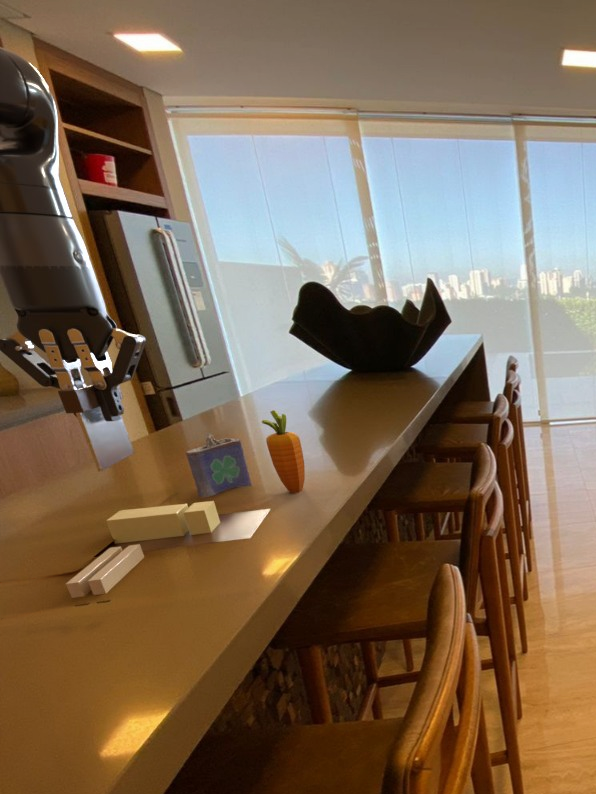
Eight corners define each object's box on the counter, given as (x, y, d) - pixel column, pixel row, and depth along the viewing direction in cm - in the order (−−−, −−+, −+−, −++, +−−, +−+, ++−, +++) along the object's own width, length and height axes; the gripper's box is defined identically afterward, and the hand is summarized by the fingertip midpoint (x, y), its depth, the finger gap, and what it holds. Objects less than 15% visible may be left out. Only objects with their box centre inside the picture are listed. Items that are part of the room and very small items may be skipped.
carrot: (309, 501, 96) (288, 413, 90) (276, 504, 94) (253, 415, 89) (316, 491, 100) (296, 407, 95) (285, 494, 99) (263, 409, 93)
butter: (114, 544, 77) (105, 520, 76) (128, 533, 81) (119, 510, 79) (184, 536, 80) (176, 513, 78) (194, 525, 83) (187, 503, 82)
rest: (109, 602, 65) (100, 579, 64) (75, 606, 64) (65, 583, 63) (147, 564, 74) (140, 544, 73) (117, 568, 73) (109, 547, 72)
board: (93, 565, 74) (90, 557, 73) (135, 530, 84) (132, 523, 84) (251, 546, 79) (249, 538, 79) (272, 515, 90) (270, 508, 89)
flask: (208, 504, 94) (189, 442, 90) (195, 502, 95) (175, 440, 91) (256, 486, 103) (241, 429, 99) (244, 485, 103) (228, 428, 99)
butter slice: (190, 535, 80) (183, 512, 78) (200, 524, 83) (193, 502, 82) (211, 532, 80) (204, 510, 79) (220, 522, 84) (213, 500, 83)
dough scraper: (106, 472, 66) (75, 390, 62) (89, 473, 65) (57, 391, 62) (142, 451, 74) (116, 378, 70) (127, 452, 73) (101, 378, 70)
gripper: (137, 265, 67) (182, 411, 73) (-11, 264, 63) (50, 418, 69) (103, 262, 60) (156, 423, 66) (-65, 261, 56) (8, 432, 62)
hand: (102, 420), depth 68 cm, fingers closed on dough scraper, 1 cm apart
